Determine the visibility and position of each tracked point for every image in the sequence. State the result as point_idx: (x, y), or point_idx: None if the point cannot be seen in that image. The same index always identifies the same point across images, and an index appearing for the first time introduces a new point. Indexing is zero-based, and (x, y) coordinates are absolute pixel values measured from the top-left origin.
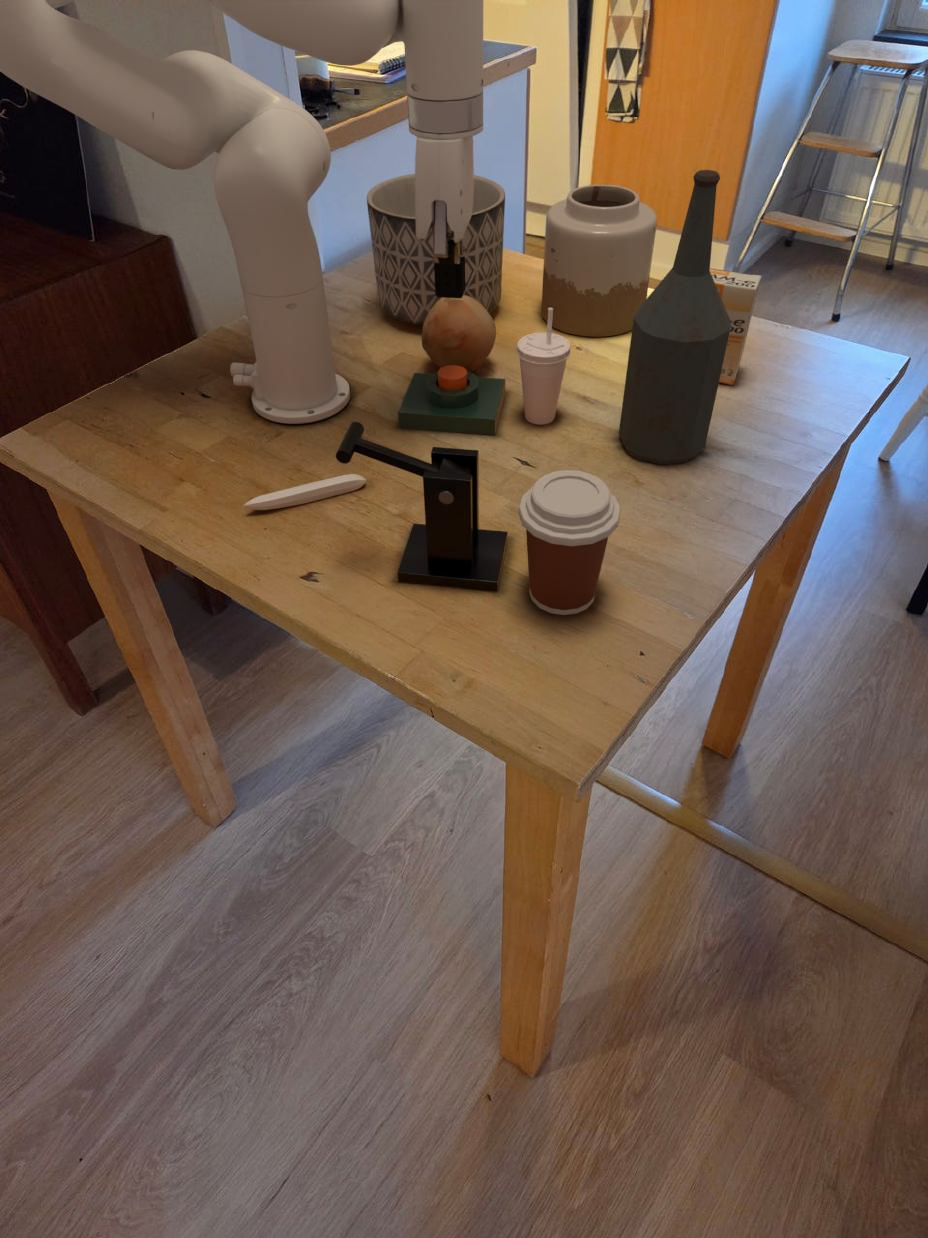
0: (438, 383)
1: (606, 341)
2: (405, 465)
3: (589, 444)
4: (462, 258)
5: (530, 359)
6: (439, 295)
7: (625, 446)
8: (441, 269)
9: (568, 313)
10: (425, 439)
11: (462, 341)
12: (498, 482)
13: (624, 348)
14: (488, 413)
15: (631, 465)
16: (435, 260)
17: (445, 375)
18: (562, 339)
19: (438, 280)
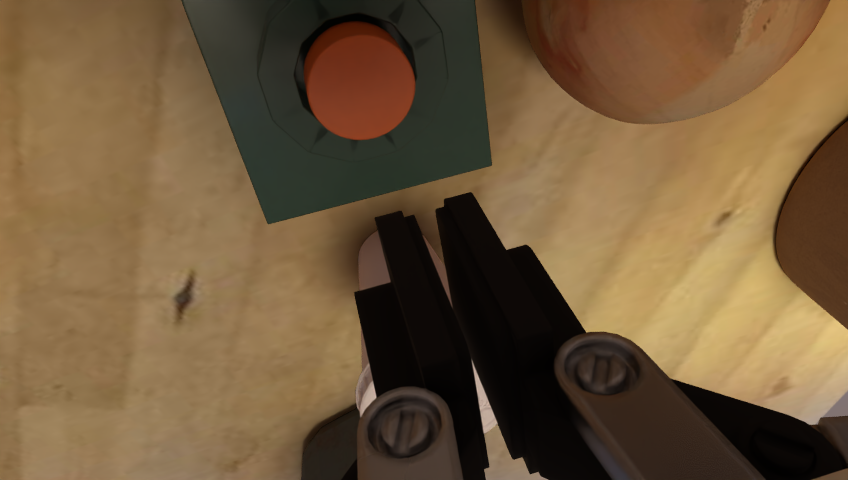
0: (324, 34)
1: (755, 256)
2: None
3: (322, 369)
4: (528, 465)
5: (362, 388)
6: (379, 236)
7: (328, 428)
8: (378, 395)
9: (840, 198)
10: (142, 26)
11: (558, 58)
12: (68, 283)
13: (722, 295)
14: (289, 198)
15: (283, 441)
16: (359, 439)
17: (328, 77)
18: (487, 420)
19: (396, 292)
